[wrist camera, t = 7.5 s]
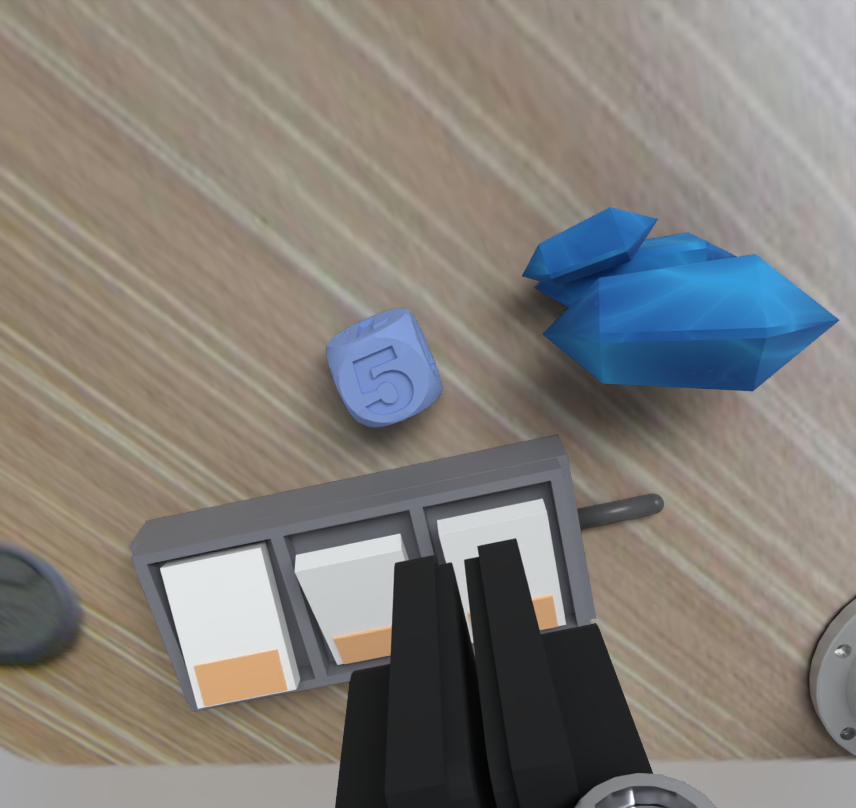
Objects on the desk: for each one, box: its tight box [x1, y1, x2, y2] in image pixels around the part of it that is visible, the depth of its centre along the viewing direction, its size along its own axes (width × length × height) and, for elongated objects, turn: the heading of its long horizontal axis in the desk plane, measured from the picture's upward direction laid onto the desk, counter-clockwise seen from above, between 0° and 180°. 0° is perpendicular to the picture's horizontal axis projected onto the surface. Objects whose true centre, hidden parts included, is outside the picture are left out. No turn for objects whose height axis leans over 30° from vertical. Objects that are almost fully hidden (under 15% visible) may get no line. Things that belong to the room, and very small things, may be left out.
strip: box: [130, 435, 664, 712], centre depth 39 cm, size 26×9×4 cm, turn 102°
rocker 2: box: [437, 499, 566, 643], centre depth 37 cm, size 5×7×1 cm
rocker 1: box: [160, 541, 300, 709], centre depth 38 cm, size 5×7×1 cm
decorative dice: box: [326, 308, 443, 427], centre depth 36 cm, size 4×4×4 cm
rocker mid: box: [295, 534, 409, 665], centre depth 37 cm, size 5×7×1 cm
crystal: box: [522, 207, 839, 391], centre depth 33 cm, size 7×9×12 cm
